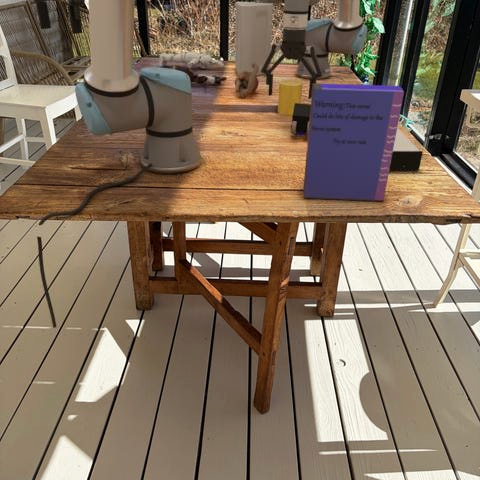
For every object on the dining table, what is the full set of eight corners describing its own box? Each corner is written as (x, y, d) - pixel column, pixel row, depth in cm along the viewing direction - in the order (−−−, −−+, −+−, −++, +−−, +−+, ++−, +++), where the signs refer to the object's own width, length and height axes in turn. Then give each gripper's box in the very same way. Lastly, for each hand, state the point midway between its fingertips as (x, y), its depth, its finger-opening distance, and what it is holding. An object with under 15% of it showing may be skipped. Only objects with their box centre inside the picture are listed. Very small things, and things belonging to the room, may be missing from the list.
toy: (179, 76, 209) (178, 59, 205) (154, 65, 226) (153, 50, 223) (226, 70, 221) (226, 54, 217) (199, 60, 238) (198, 45, 235)
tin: (287, 107, 169) (288, 79, 164) (304, 112, 164) (307, 82, 159) (273, 112, 164) (274, 82, 159) (291, 116, 159) (293, 86, 154)
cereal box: (379, 191, 109) (398, 84, 97) (383, 201, 105) (404, 90, 93) (303, 188, 110) (312, 82, 98) (304, 197, 106) (314, 88, 94)
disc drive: (349, 170, 120) (352, 151, 117) (332, 140, 139) (334, 123, 137) (418, 171, 120) (423, 152, 118) (392, 140, 140) (395, 124, 137)
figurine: (149, 84, 182) (227, 91, 186) (149, 62, 179) (229, 70, 183) (154, 81, 204) (223, 88, 208) (154, 62, 201) (225, 69, 205)
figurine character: (312, 146, 139) (312, 125, 151) (314, 121, 134) (315, 101, 146) (289, 145, 139) (291, 123, 151) (290, 120, 135) (293, 100, 147)
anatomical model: (248, 99, 191) (242, 101, 177) (232, 84, 190) (225, 85, 176) (269, 75, 187) (265, 74, 173) (253, 59, 186) (248, 57, 172)
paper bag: (273, 76, 210) (276, 6, 196) (239, 77, 209) (240, 6, 194) (266, 67, 226) (268, 2, 212) (235, 67, 225) (235, 1, 210)
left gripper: (91, -63, 113) (103, 33, 124) (29, -63, 126) (45, 25, 136) (64, -64, 108) (79, 37, 119) (2, -64, 120) (21, 27, 131)
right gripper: (253, 27, 150) (251, 95, 161) (333, 31, 145) (325, 102, 155) (259, 25, 156) (256, 90, 167) (335, 29, 151) (328, 96, 162)
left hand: (61, 31), depth 128 cm, fingers open, 13 cm apart
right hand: (289, 96), depth 161 cm, fingers open, 13 cm apart
